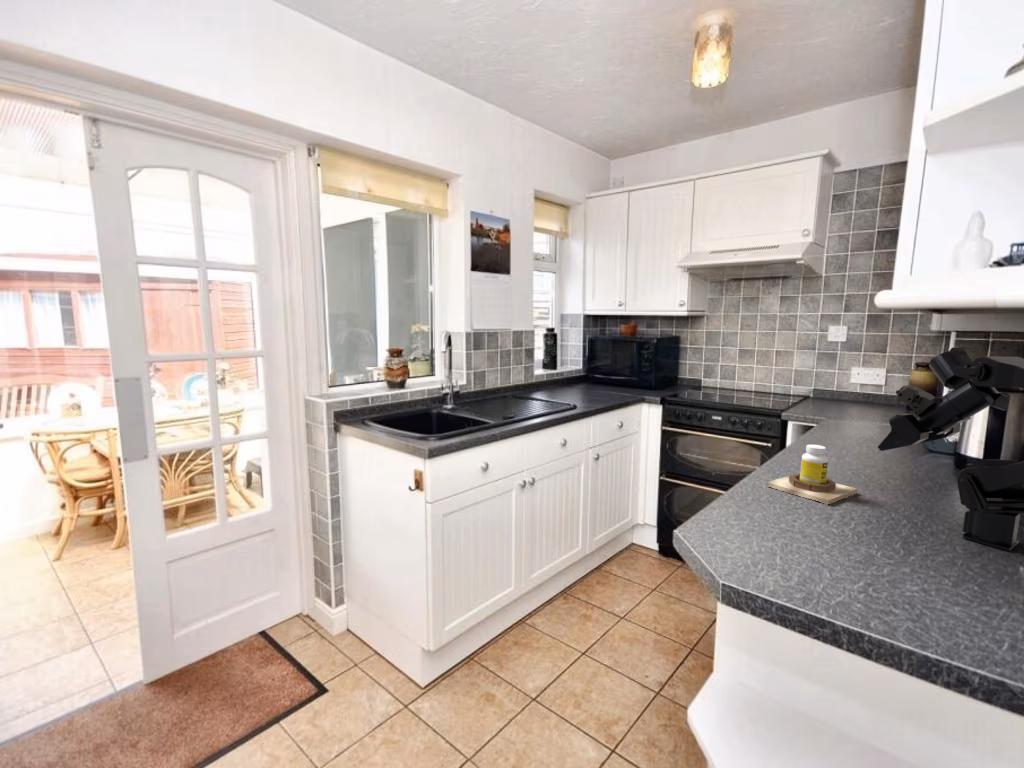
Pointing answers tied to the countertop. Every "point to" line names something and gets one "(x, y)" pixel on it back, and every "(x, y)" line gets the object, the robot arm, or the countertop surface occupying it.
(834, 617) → the countertop surface
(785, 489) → the socket board
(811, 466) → the supplement bottle
